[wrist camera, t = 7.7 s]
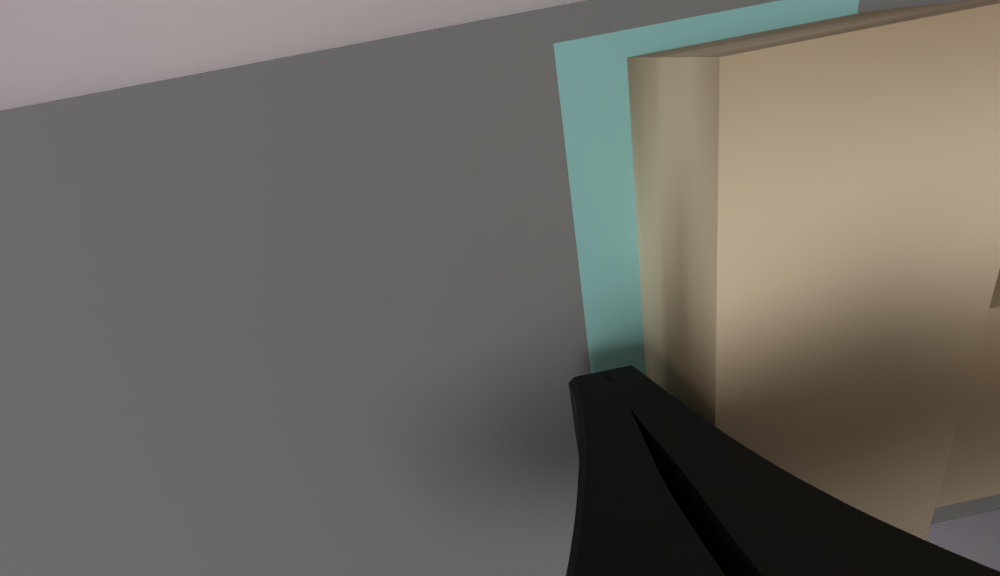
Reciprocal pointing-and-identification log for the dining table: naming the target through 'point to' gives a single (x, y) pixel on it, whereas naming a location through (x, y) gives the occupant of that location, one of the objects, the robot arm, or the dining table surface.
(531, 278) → the push mat
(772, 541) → the robot arm
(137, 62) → the dining table surface
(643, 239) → the t block
